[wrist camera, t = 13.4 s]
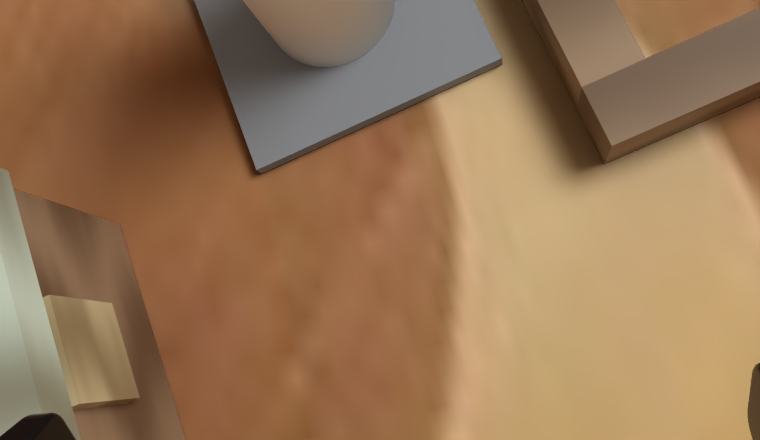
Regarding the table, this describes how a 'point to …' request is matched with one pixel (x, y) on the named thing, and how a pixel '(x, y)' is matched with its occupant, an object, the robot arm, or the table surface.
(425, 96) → the mat
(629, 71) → the brown square frame
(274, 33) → the key peg
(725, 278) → the table surface
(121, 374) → the toolbox
